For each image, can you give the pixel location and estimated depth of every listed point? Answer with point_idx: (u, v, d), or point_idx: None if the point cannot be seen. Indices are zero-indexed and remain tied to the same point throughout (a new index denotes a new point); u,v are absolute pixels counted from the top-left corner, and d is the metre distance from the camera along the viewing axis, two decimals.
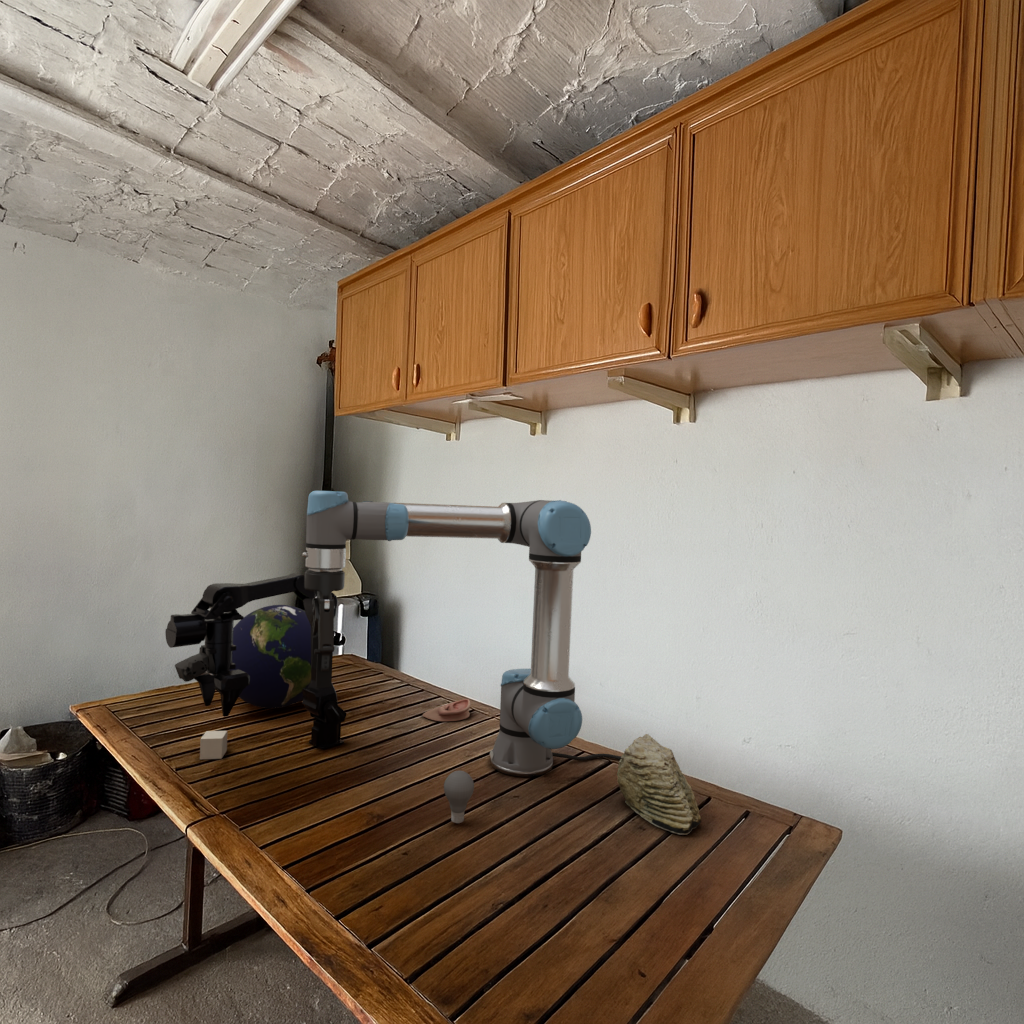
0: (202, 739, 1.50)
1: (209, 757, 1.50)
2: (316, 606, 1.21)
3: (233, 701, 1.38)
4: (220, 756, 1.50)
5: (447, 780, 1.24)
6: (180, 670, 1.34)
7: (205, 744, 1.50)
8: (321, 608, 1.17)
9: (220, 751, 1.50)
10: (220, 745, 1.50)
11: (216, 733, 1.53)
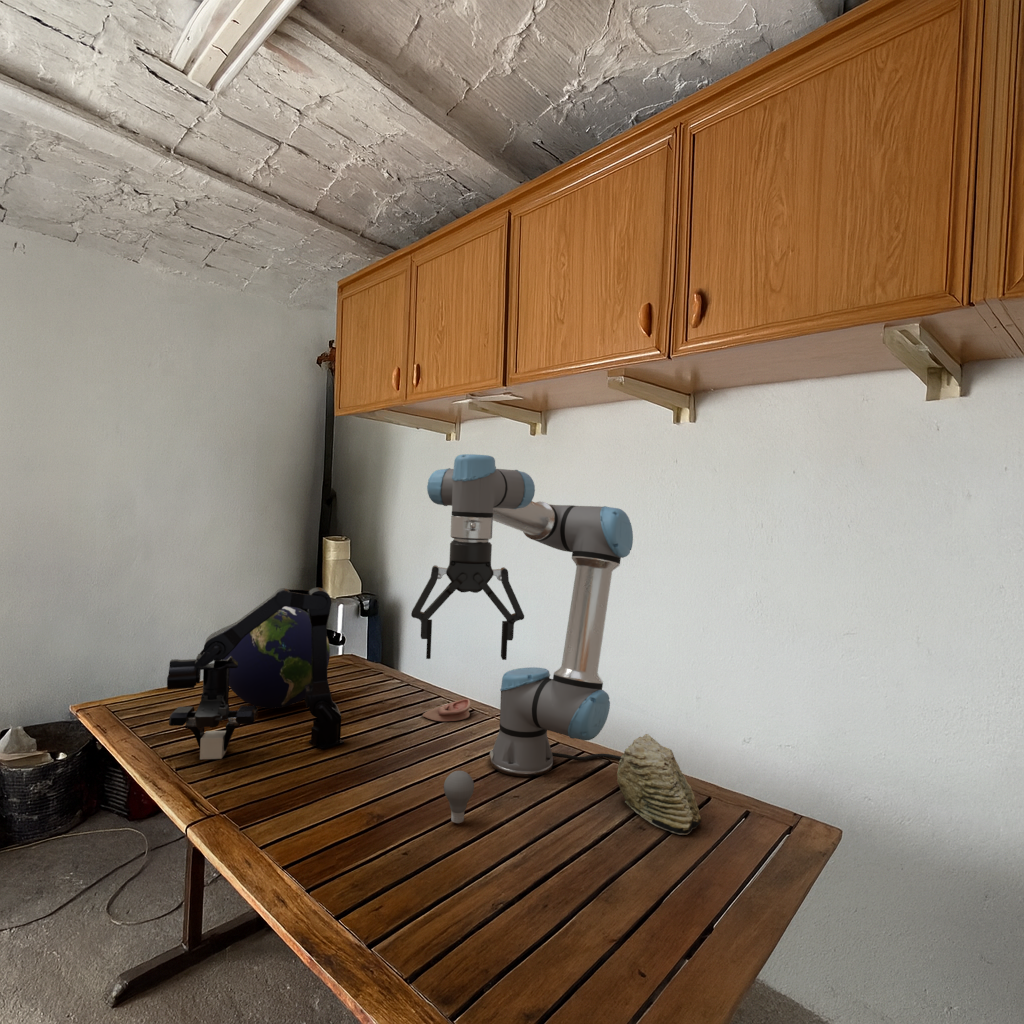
0: (202, 739, 1.50)
1: (209, 757, 1.50)
2: (483, 579, 1.13)
3: (231, 735, 1.54)
4: (220, 756, 1.50)
5: (447, 780, 1.24)
6: (210, 718, 1.44)
7: (205, 744, 1.50)
8: None
9: (220, 751, 1.50)
10: (220, 745, 1.50)
11: (216, 733, 1.53)
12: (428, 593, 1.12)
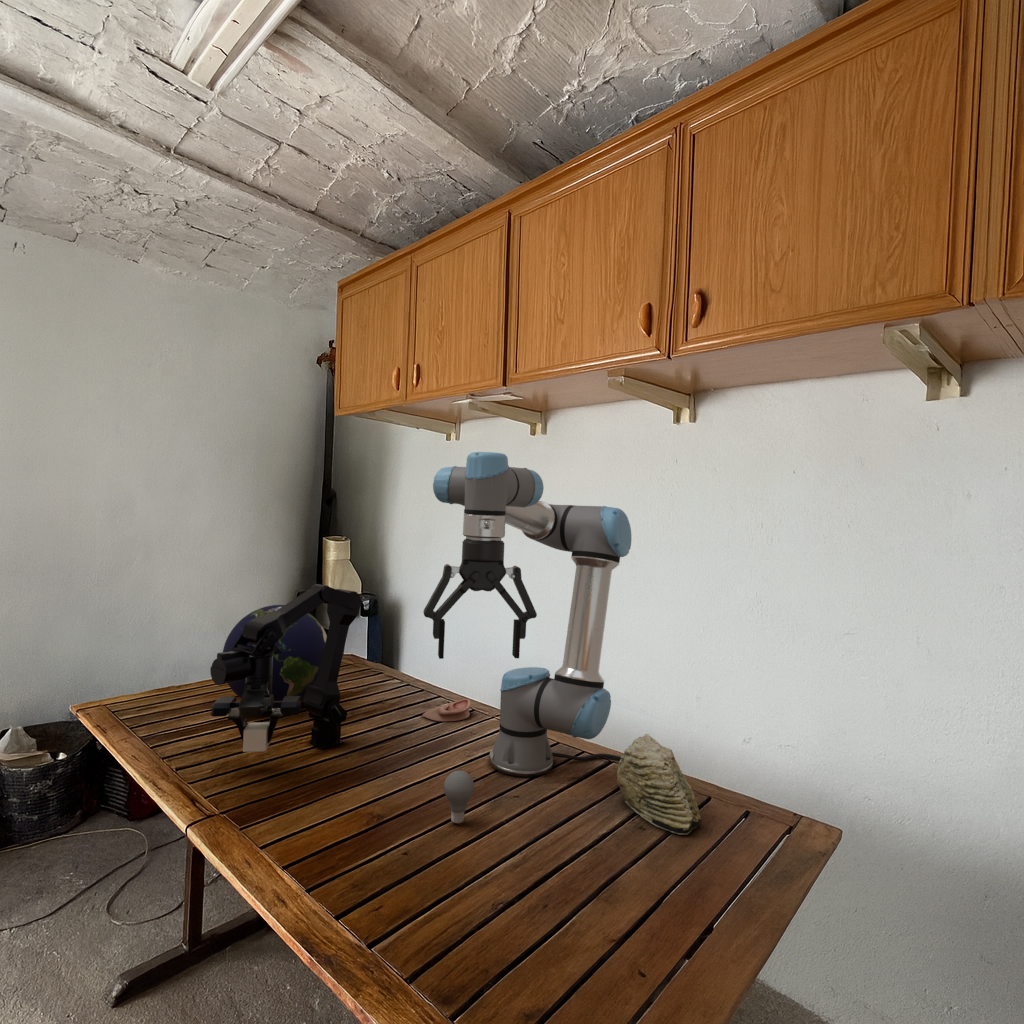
0: (245, 731, 1.42)
1: (252, 750, 1.43)
2: (496, 578, 1.12)
3: (275, 726, 1.47)
4: (264, 749, 1.43)
5: (447, 780, 1.24)
6: (255, 708, 1.37)
7: (249, 736, 1.42)
8: None
9: (264, 743, 1.43)
10: (264, 737, 1.43)
11: (259, 725, 1.46)
12: (441, 592, 1.11)
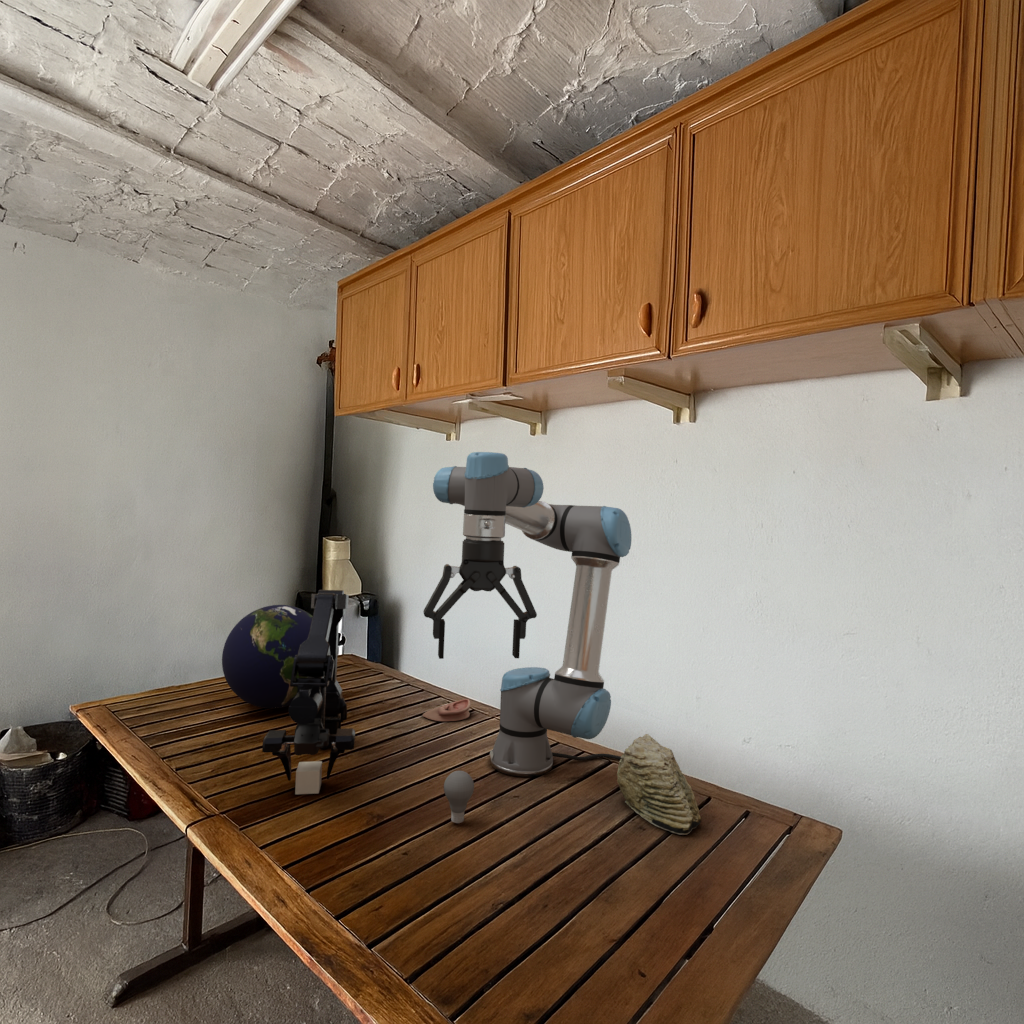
0: (298, 772, 1.34)
1: (305, 792, 1.35)
2: (496, 578, 1.12)
3: None
4: (317, 791, 1.35)
5: (447, 780, 1.24)
6: (311, 744, 1.29)
7: (301, 777, 1.34)
8: None
9: (317, 785, 1.35)
10: (317, 778, 1.35)
11: (311, 764, 1.38)
12: (441, 592, 1.11)
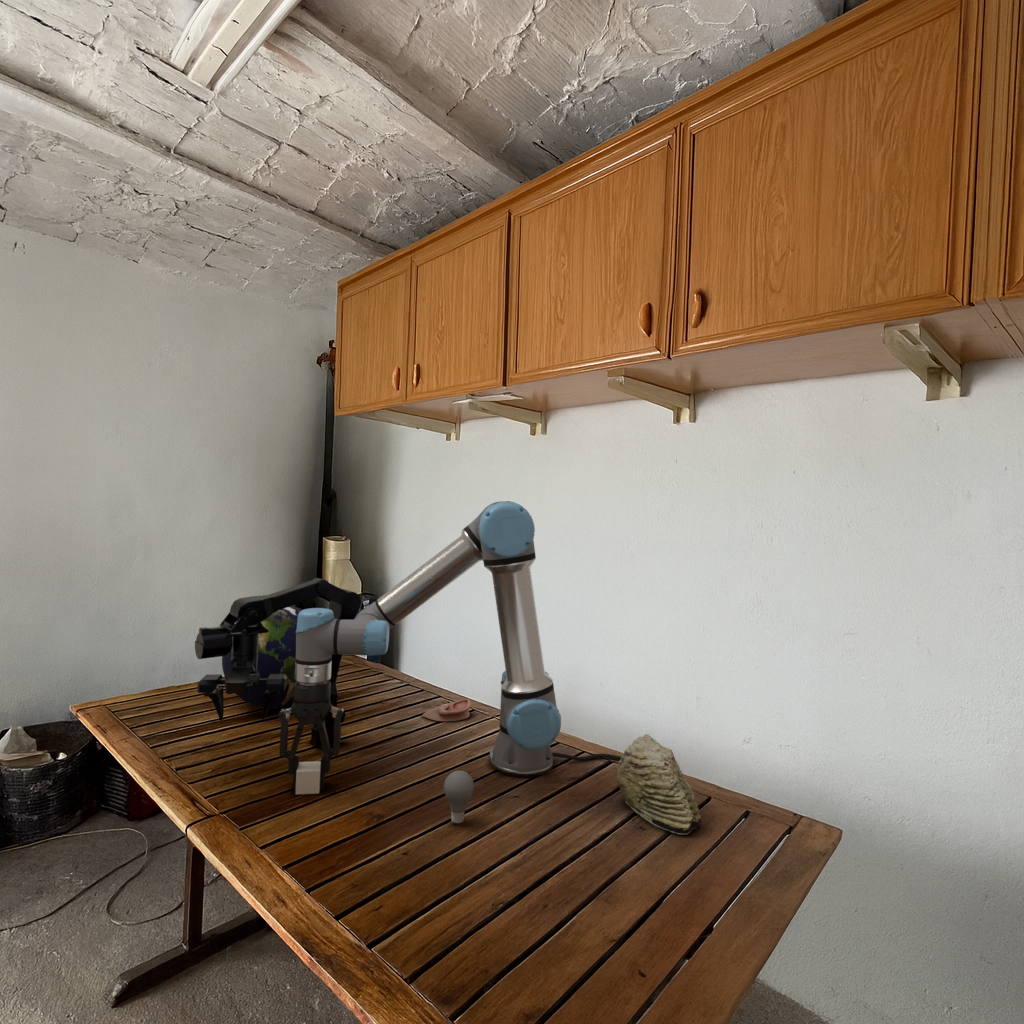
0: (298, 772, 1.34)
1: (306, 792, 1.35)
2: (320, 716, 1.36)
3: (269, 703, 1.50)
4: (317, 791, 1.35)
5: (447, 780, 1.24)
6: (241, 684, 1.39)
7: (302, 777, 1.34)
8: (340, 718, 1.37)
9: (317, 785, 1.35)
10: (317, 778, 1.35)
11: (311, 764, 1.38)
12: (285, 734, 1.35)
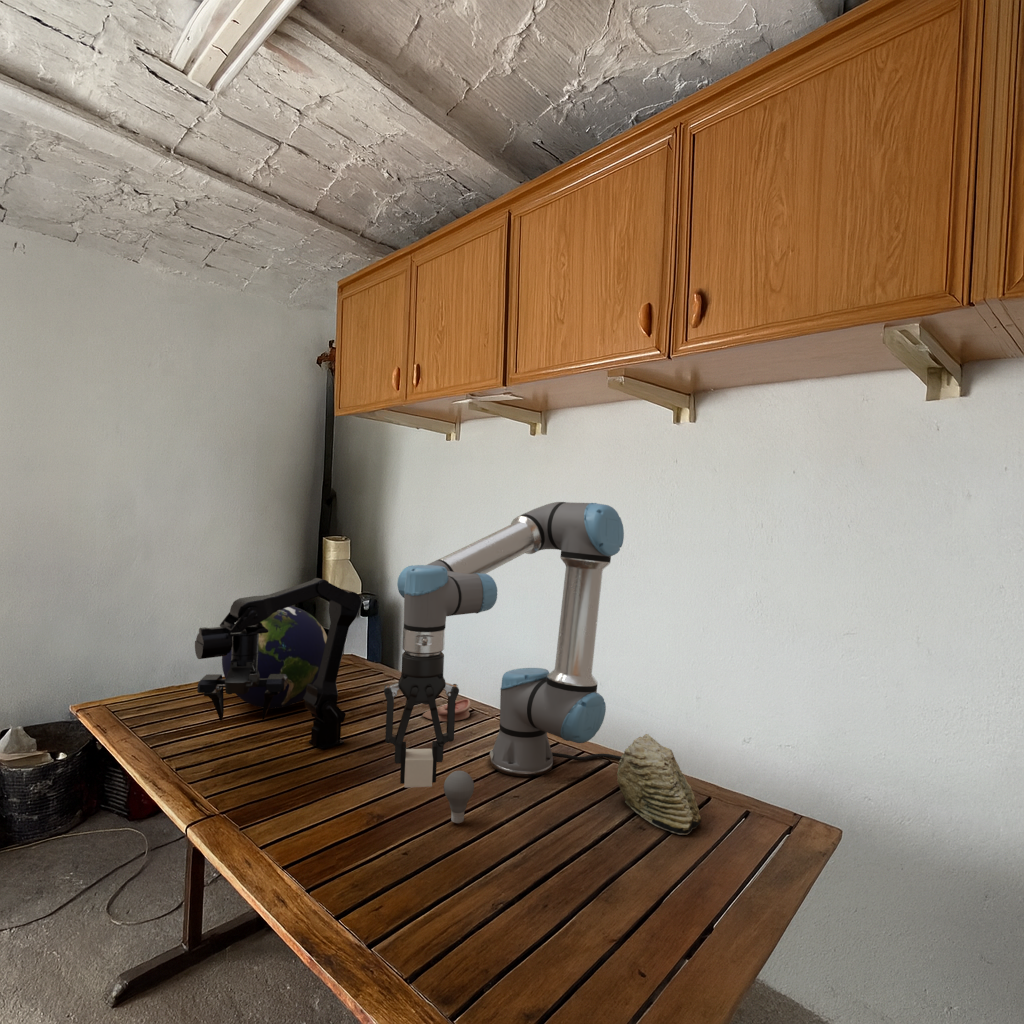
0: (408, 761, 1.12)
1: (416, 785, 1.12)
2: (433, 694, 1.13)
3: (269, 703, 1.50)
4: (430, 783, 1.12)
5: (447, 780, 1.24)
6: (241, 684, 1.39)
7: (412, 767, 1.12)
8: None
9: (430, 777, 1.12)
10: (430, 769, 1.12)
11: (421, 752, 1.15)
12: (391, 715, 1.12)
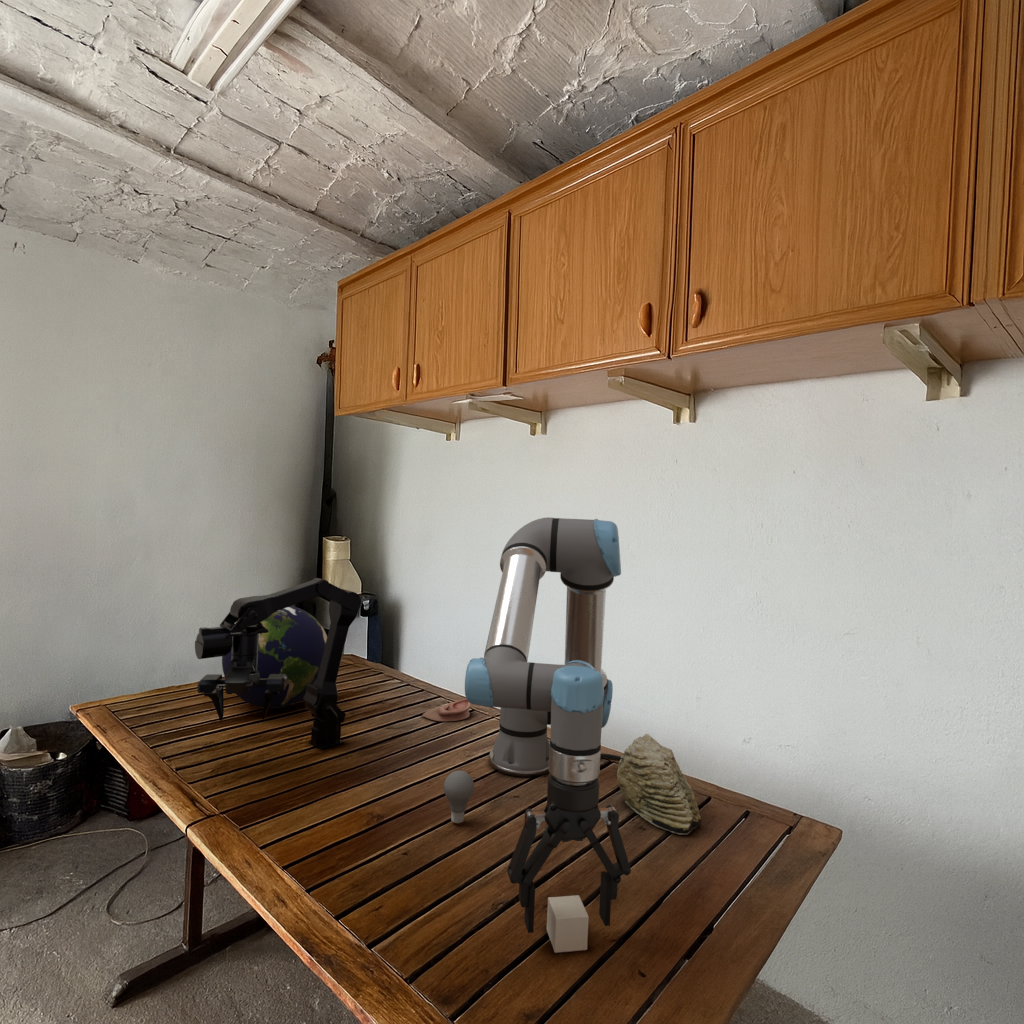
0: (559, 919, 0.91)
1: (569, 948, 0.91)
2: (590, 826, 0.92)
3: (269, 703, 1.50)
4: (585, 946, 0.91)
5: (447, 780, 1.24)
6: (241, 684, 1.39)
7: (564, 928, 0.91)
8: None
9: (585, 938, 0.91)
10: (585, 928, 0.91)
11: (569, 903, 0.94)
12: (527, 850, 0.91)
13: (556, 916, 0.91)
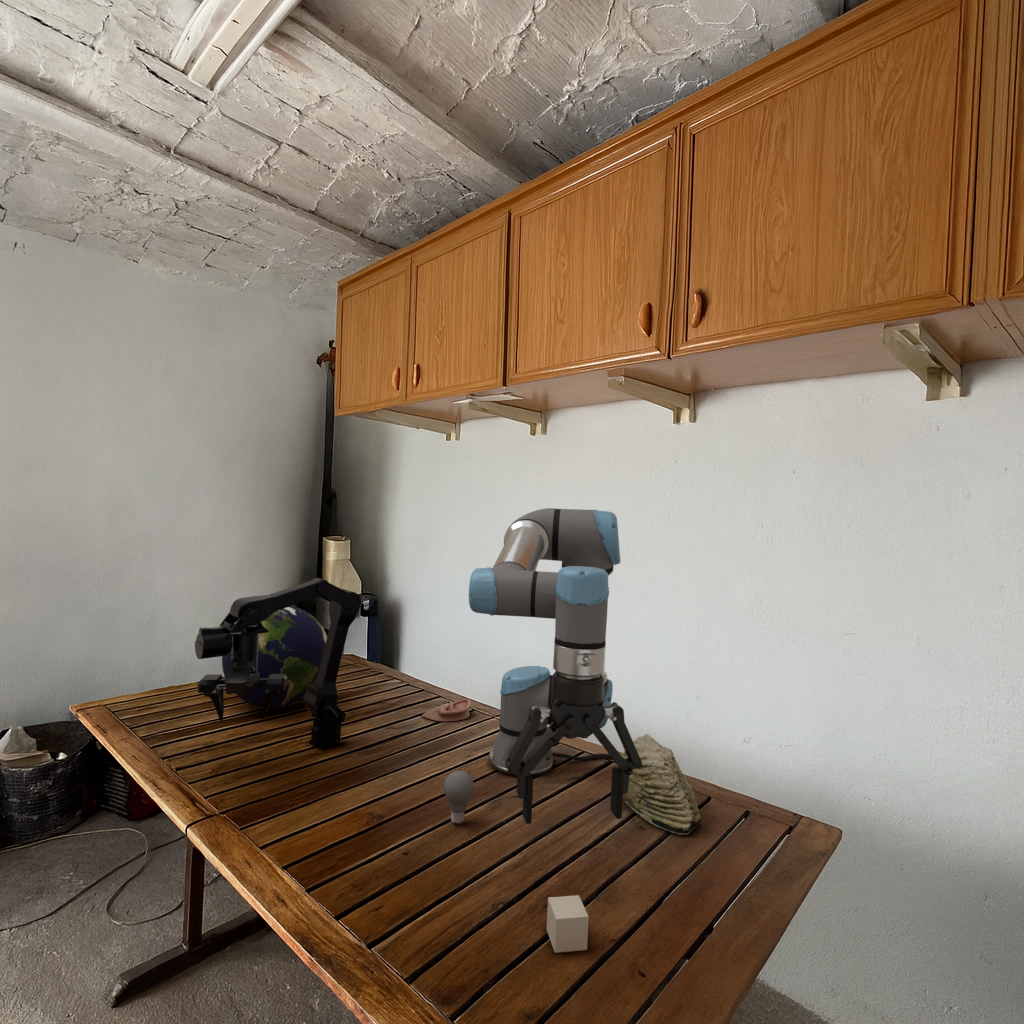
0: (559, 919, 0.91)
1: (569, 948, 0.91)
2: (595, 722, 0.92)
3: (269, 703, 1.50)
4: (585, 946, 0.91)
5: (447, 780, 1.24)
6: (241, 684, 1.39)
7: (564, 928, 0.91)
8: None
9: (585, 938, 0.91)
10: (585, 928, 0.91)
11: (569, 903, 0.94)
12: (529, 742, 0.90)
13: (556, 916, 0.91)
